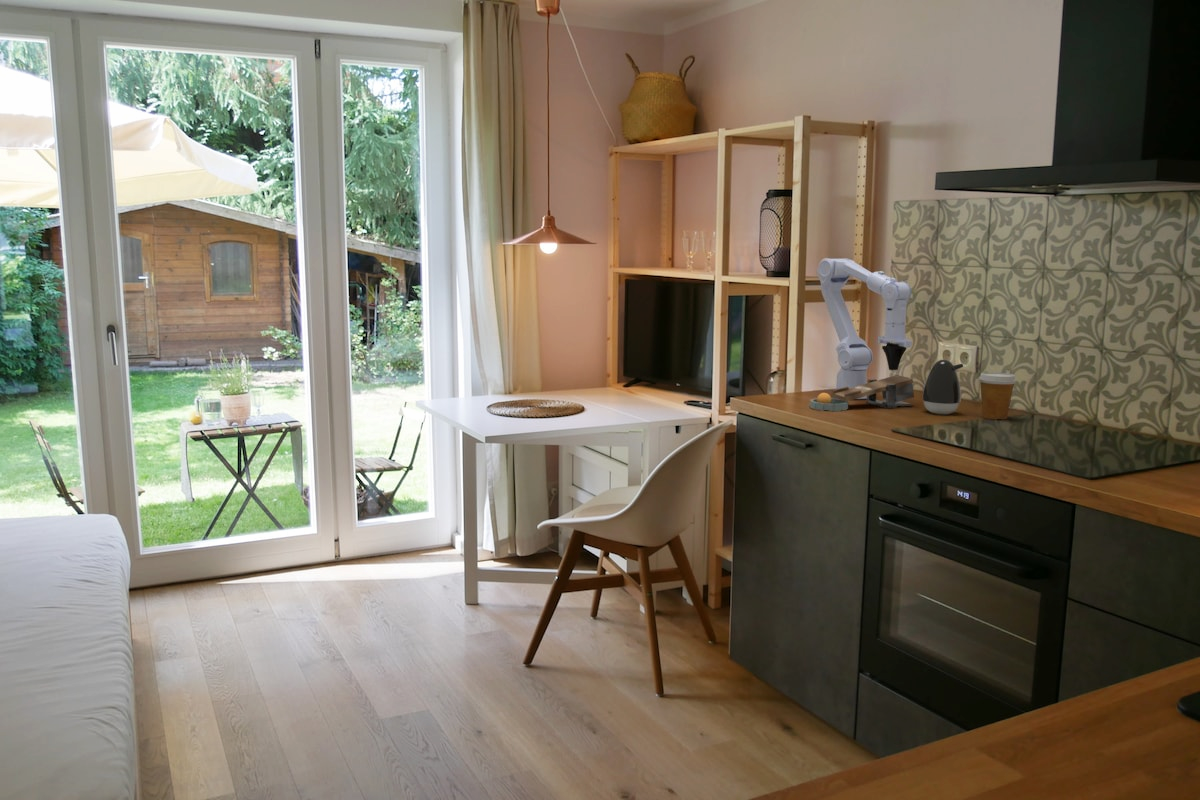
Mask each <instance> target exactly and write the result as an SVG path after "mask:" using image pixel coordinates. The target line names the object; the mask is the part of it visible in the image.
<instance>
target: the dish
mask: <svg viewBox="0 0 1200 800" xmlns="http://www.w3.org/2000/svg"><path fill="white" fill-rule="evenodd" d="M809 408H810V409H812V408H813V409H812V410H815V409H817V410H816V411H821V410H829V411H828V412H841V411H840V410H844V411H848V410H849V401H844V400H841V399H837V398H834V397H831V403H830V404H825V403H818V402H817V398H816V397H815V398H810V401H809ZM847 409H848V410H847Z"/></svg>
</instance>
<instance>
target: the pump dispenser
mask: <svg viewBox="0 0 1200 800" xmlns="http://www.w3.org/2000/svg"><path fill="white" fill-rule="evenodd" d="M963 367H964V364H963V363H959V364H953V363H952V362H951V361H950V360H948V359H939V360H937V361H936V362H935V363H934V364H933V366H932V367H931V369H930V371H929V373H928V375H927V377H926V379H925V382H924V383H925V384H924V386H923V387H924V388H923V392H922V401H923V405H924V408H925V409H926V410H927V411H928V412H929V413H931V414H934V413H935V415H951V414H953V413H955V412H956V410H957V409H958V407H959V405H960V403H961V401H962V399H961V398H962V395H961V394H962V392H961V384H960V379H959V376H958V372H957V371H958V370H959V369H961V368H963Z"/></svg>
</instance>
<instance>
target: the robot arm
mask: <svg viewBox="0 0 1200 800" xmlns="http://www.w3.org/2000/svg"><path fill="white" fill-rule="evenodd" d="M816 274H817V277H818V279H819V282H820V290H821V295H822V297H823V300H824V302H825V305H826V309H827V310H828V313H829V317H830V319H831V321H832V323H833V326H834V328H835V332H836V334H837V337H838V339H839V343H838V345H837V346H836V348H835V350H836V353H837V362H838V364H839V367H841V368H840V369H839V370H838V372H837V373H836V380H835V381H836V382H835V383H836V384H835V385H836V386H835V390H836V389H840V388H844V387H849V388H853V387H856V386H860V385H863V384H867V376H868V375H867V373H868V370H869V366H870V365H871V364H872V363H873V360H874V353H873V351H872V349H871V348H870V347H869V346H868V345H867V341H865V340H864V339H863V338H862V337H860V336H859V335H858V333H857V330H856V328H855V326H854V322H853V320H852V317H851V315H850V313H849V309H848V308H847V305H846V302H845V300H844V297H843V295H842V292H841V291H842V288H844V287H845V285H846V284H847V282H848V281H849V279H850V278H851V277H852V278H855V279H857V280H859V281H861V282H863V283H865V284H866V287H867V288H868V289H869V290H871V291H872V292H874V293H876V294H878V295H879V296H881V297H882V299H883V300H884V306H885V307H884V308H885V322H884V323H885V324H884V326H885V327H884V336H877V344H885V345H882V346H881V348H882V351H883V352H884V354H885V357H886V361H887V365H888V366H887V367H888V370H889V371H898V369H899V365H900V363H901V360H902V357H903V355H904V354H905V352H906V350H907V348H912V347H913V340H910V339H909V338H907V337H906V325H907V323H906V322H907V321H906V320H907V304H908V302H907V301H908V300H909V299H910V298H911V295H912V287H911V286H910V284H908V283H907V282H906V281H899V282H898V281H897V279H896V278H895V277H889V276H888V275H886V273H885V272H884V271H882V270H880V271H874V272H871V271H870V270H868V269H866V268H865V267H864V266H861V265H860V264H858V263H856V261H855V260H853V259H850V258H847V257H844V258H829V257H825V258H823V259H821V260H820V262H819V264H818V265H817V269H816ZM865 399H866V400H867V396H865V397H861V398H858V399H857V400H865Z"/></svg>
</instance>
